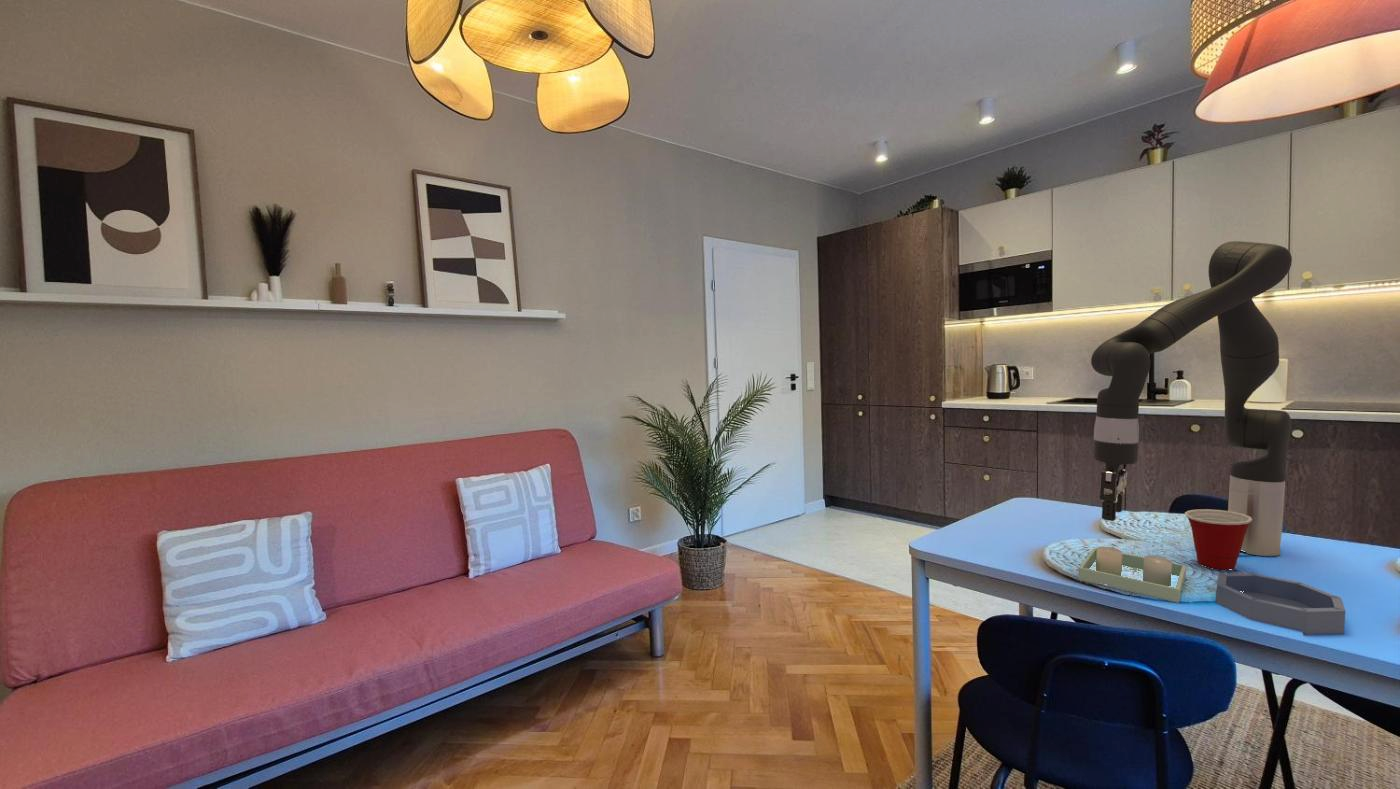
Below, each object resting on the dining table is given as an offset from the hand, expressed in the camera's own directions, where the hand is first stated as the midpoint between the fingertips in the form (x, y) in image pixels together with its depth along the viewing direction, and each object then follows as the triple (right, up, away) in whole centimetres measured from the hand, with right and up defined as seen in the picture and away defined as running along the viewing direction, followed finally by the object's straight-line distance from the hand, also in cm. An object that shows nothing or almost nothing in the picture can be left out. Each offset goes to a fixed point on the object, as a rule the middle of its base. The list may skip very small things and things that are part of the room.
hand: (1112, 515), depth 120 cm
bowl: (+18, -14, -16) cm, 28 cm away
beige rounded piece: (+6, -13, -4) cm, 15 cm away
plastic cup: (+26, -13, +5) cm, 29 cm away
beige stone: (0, -13, +1) cm, 13 cm away
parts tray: (+3, -13, -1) cm, 14 cm away
